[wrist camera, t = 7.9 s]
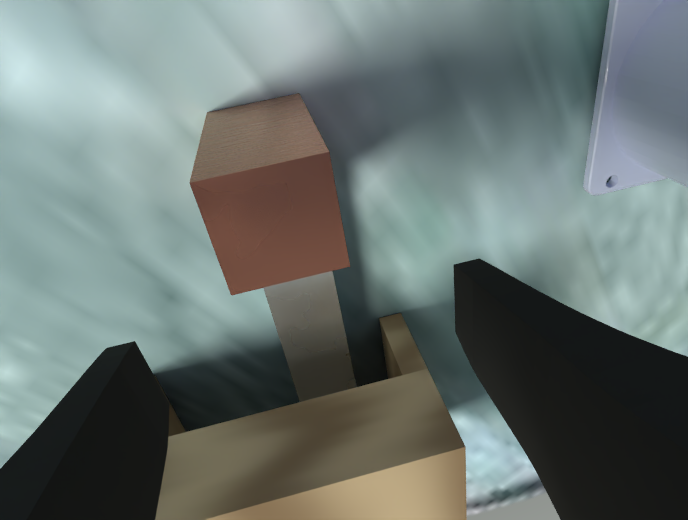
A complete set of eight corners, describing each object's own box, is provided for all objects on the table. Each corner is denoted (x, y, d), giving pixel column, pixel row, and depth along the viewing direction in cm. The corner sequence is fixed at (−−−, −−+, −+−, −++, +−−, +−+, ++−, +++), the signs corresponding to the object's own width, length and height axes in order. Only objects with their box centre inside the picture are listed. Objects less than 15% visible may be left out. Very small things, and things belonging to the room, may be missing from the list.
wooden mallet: (298, 93, 15) (329, 151, 10) (366, 423, 24) (400, 541, 19) (207, 112, 15) (189, 182, 10) (311, 438, 24) (330, 561, 19)
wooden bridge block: (400, 312, 20) (465, 447, 15) (413, 425, 25) (467, 563, 19) (130, 380, 19) (84, 553, 14) (193, 485, 24) (178, 649, 18)
